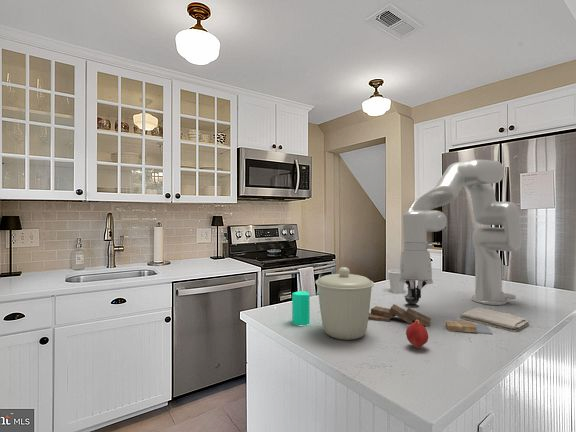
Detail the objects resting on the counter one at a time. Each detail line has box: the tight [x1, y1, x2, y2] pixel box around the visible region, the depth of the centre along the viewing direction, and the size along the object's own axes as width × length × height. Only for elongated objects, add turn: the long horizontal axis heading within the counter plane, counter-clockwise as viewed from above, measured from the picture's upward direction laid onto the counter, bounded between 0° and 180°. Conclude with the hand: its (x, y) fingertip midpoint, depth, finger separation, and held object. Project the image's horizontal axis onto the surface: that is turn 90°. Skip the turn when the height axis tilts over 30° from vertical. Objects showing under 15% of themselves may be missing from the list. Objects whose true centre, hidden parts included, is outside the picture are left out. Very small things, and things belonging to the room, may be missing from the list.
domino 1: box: [370, 305, 397, 319], centre depth 115 cm, size 2×5×8 cm
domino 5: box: [445, 320, 477, 333], centre depth 102 cm, size 2×5×8 cm
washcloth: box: [459, 307, 530, 333], centre depth 109 cm, size 12×18×3 cm, turn 37°
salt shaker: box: [403, 280, 419, 309], centre depth 129 cm, size 6×6×12 cm
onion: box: [405, 320, 430, 349], centre depth 88 cm, size 6×6×8 cm
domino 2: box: [368, 312, 391, 323], centre depth 113 cm, size 2×5×8 cm
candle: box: [291, 290, 311, 326], centre depth 109 cm, size 6×6×12 cm
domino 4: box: [404, 307, 432, 328], centre depth 108 cm, size 2×5×8 cm
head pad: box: [473, 323, 493, 335], centre depth 102 cm, size 7×8×1 cm
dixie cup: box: [387, 269, 405, 294], centre depth 152 cm, size 8×8×10 cm
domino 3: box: [389, 303, 414, 325], centre depth 111 cm, size 2×5×8 cm
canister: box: [315, 266, 375, 341], centre depth 99 cm, size 18×18×21 cm
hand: (416, 299), depth 109 cm, fingers closed
